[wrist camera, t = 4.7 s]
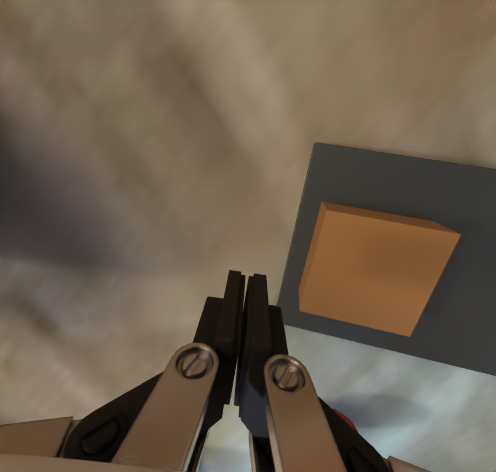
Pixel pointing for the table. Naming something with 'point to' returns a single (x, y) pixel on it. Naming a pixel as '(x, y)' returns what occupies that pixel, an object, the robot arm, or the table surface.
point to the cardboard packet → (373, 267)
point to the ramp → (422, 207)
